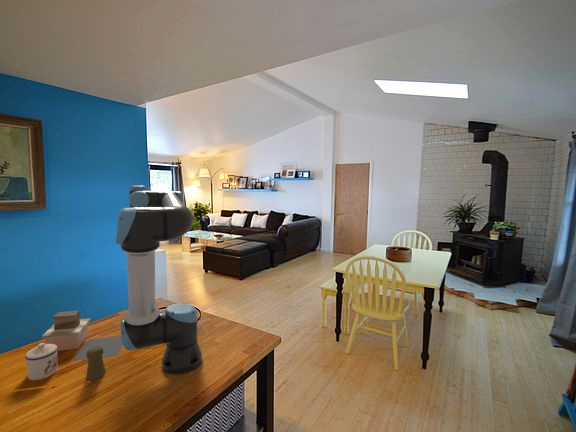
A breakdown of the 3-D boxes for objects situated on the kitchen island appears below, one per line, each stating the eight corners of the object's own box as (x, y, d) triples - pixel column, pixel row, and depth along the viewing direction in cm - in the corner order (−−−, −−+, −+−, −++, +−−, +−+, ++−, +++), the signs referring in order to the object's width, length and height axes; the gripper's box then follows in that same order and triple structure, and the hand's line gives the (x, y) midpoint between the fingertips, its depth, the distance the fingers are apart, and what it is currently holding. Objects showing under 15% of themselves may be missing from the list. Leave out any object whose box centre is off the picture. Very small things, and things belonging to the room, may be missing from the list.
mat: (117, 356, 119) (117, 355, 119) (72, 361, 115) (72, 360, 115) (128, 336, 134) (128, 335, 134) (88, 340, 130) (88, 339, 130)
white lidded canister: (49, 380, 104) (47, 350, 103) (20, 382, 102) (17, 352, 101) (68, 360, 116) (66, 332, 114) (42, 361, 114) (40, 334, 113)
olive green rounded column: (109, 372, 109) (108, 345, 108) (94, 383, 103) (92, 354, 102) (98, 369, 111) (96, 342, 110) (82, 379, 105) (80, 350, 104)
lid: (78, 335, 121) (77, 319, 120) (41, 339, 118) (40, 322, 117) (90, 320, 133) (89, 305, 133) (57, 323, 130) (56, 308, 129)
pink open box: (77, 350, 123) (76, 334, 122) (46, 353, 120) (45, 337, 119) (88, 336, 133) (87, 322, 132) (60, 339, 130) (59, 324, 129)
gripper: (136, 214, 150) (138, 254, 153) (122, 221, 126) (124, 269, 129) (152, 214, 152) (153, 254, 154) (141, 221, 128) (143, 268, 131)
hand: (140, 261), depth 142 cm, fingers open, 13 cm apart
